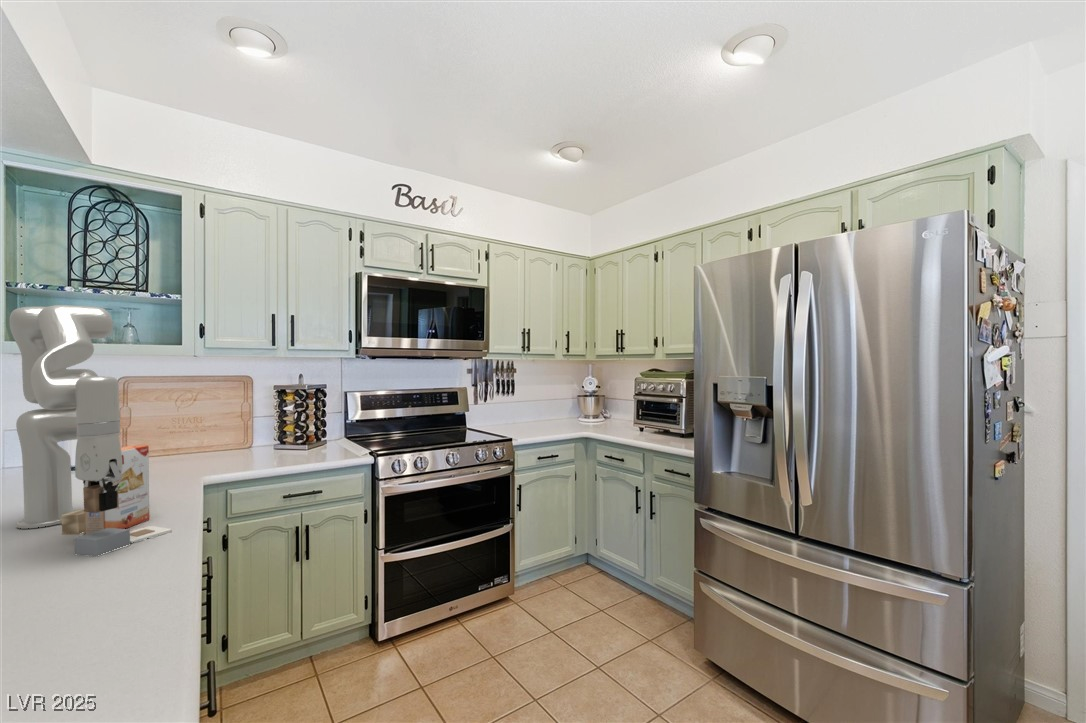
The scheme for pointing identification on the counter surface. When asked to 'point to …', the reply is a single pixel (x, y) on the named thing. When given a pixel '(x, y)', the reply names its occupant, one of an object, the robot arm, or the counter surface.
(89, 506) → the walnut block
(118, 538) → the base block
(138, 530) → the tile
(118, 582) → the counter surface
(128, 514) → the cracker box
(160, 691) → the counter surface
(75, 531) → the maple block
